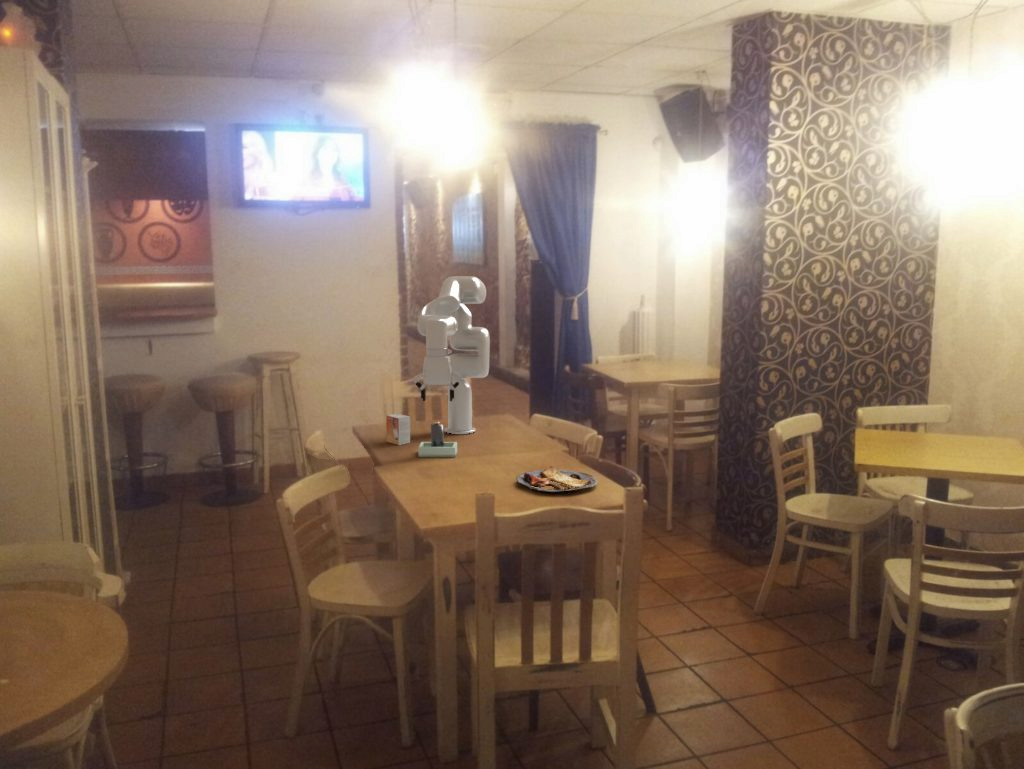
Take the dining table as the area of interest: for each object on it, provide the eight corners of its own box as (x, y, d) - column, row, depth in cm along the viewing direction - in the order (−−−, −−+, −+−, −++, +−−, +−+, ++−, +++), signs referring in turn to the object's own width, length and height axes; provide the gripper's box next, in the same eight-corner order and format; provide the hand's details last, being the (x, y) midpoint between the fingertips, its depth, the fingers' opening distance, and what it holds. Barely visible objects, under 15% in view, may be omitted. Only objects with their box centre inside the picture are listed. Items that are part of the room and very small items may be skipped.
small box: (386, 442, 337) (385, 415, 335) (398, 440, 341) (397, 413, 339) (398, 445, 331) (398, 418, 330) (410, 443, 335) (410, 416, 334)
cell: (431, 450, 319) (431, 421, 318) (444, 450, 319) (443, 421, 318) (431, 453, 315) (430, 423, 313) (443, 452, 315) (442, 423, 314)
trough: (421, 451, 322) (421, 441, 321) (457, 451, 321) (457, 442, 321) (418, 457, 313) (418, 447, 312) (455, 457, 313) (455, 447, 312)
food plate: (502, 481, 279) (502, 471, 278) (558, 471, 293) (559, 461, 292) (553, 501, 259) (553, 490, 259) (610, 490, 273) (611, 479, 273)
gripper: (462, 351, 315) (462, 398, 318) (413, 351, 315) (414, 398, 318) (460, 354, 308) (461, 402, 311) (411, 354, 308) (412, 402, 311)
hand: (437, 400), depth 315 cm, fingers open, 9 cm apart
